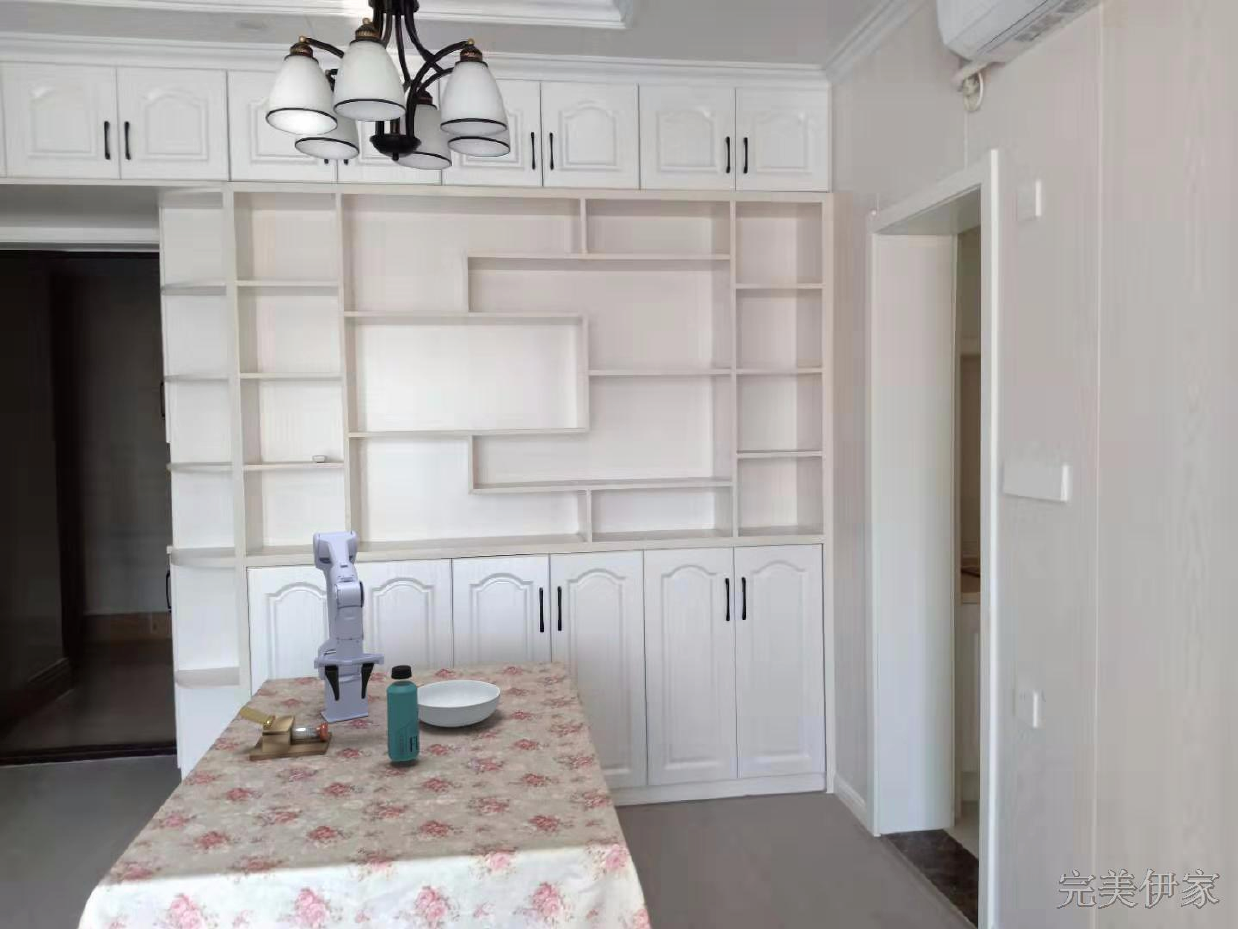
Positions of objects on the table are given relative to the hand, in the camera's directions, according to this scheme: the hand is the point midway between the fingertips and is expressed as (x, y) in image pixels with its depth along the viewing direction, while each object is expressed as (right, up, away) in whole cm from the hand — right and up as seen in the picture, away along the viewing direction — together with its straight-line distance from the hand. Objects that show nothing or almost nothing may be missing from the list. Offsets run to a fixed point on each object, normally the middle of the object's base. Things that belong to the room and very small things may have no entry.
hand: (350, 698), depth 188 cm
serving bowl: (+20, -9, +14) cm, 26 cm away
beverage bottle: (+14, -11, -11) cm, 21 cm away
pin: (-10, -9, -2) cm, 13 cm away
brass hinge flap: (-19, -3, -4) cm, 20 cm away
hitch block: (-12, -10, -2) cm, 16 cm away
